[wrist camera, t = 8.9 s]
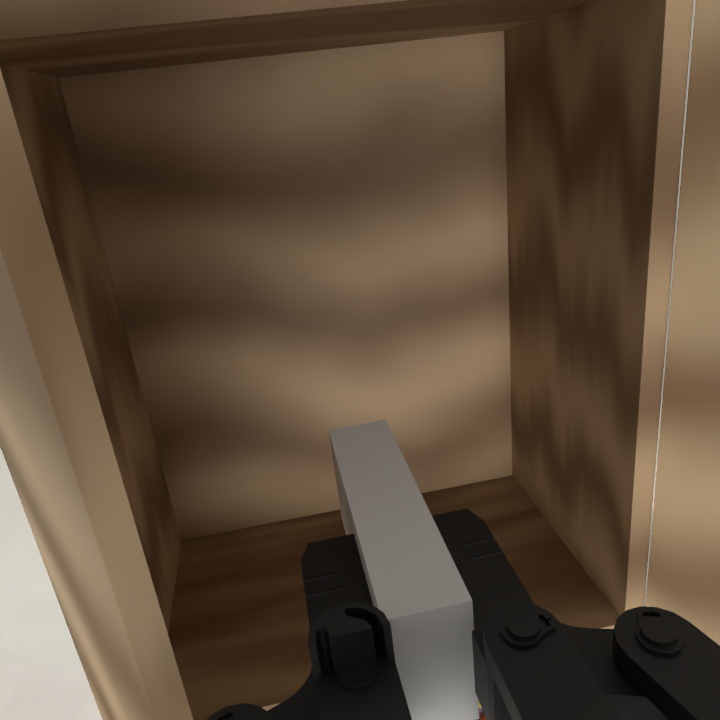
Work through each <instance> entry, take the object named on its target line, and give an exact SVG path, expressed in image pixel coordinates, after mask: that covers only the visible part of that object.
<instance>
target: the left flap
mask: <svg viewBox="0 0 720 720" xmlns="http://www.w3.org/2000/svg"><path fill="white" fill-rule="evenodd" d="M0 446H1V449H2V452H3V454H4V457H5V460H6V463H7V465H8V468H9V471H10V473H11V476H12V479H13V481H14V484H15V487H16V489H17V492H18V495H19V497H20V500H21V503H22V505H23V508H24V511H25V513H26V516H27V519H28V521H29V524H30V527H31V529H32V532H33V535H34V537H35V540H36V543H37V545H38V548H39V551H40V553H41V556H42V559H43V561H44V564H45V567H46V569H47V572H48V575H49V577H50V580H51V583H52V586H53V588H54V591H55V594H56V596H57V599H58V602H59V604H60V607H61V610H62V612H63V615H64V618H65V620H66V623H67V626H68V628H69V631H70V634H71V636H72V639H73V642H74V644H75V647H76V650H77V652H78V655H79V658H80V660H81V663H82V666H83V668H84V671H85V674H86V676H87V679H88V682H89V684H90V687H91V690H92V692H93V695H94V698H95V700H96V703H97V706H98V708H99V711H100V714H101V717H102V719H103V720H193V717H192V714H191V710H190V707H189V703H188V700H187V697H186V693H185V690H184V687H183V683H182V680H181V676H180V673H179V670H178V666H177V663H176V660H175V656H174V653H173V649H172V646H171V643H170V639H169V636H168V633H167V629H166V626H165V622H164V619H163V616H162V612H161V609H160V606H159V602H158V599H157V595H156V592H155V589H154V585H153V582H152V579H151V575H150V572H149V568H148V565H147V562H146V558H145V555H144V552H143V548H142V545H141V541H140V538H139V535H138V531H137V528H136V525H135V521H134V518H133V514H132V511H131V508H130V504H129V501H128V498H127V494H126V491H125V487H124V484H123V481H122V477H121V474H120V471H119V467H118V464H117V461H116V457H115V454H114V450H113V447H112V444H111V440H110V437H109V434H108V430H107V427H106V423H105V420H104V417H103V413H102V410H101V407H100V403H99V400H98V396H97V393H96V390H95V386H94V383H93V380H92V376H91V373H90V369H89V366H88V363H87V359H86V356H85V353H84V349H83V346H82V342H81V339H80V336H79V332H78V329H77V326H76V322H75V319H74V315H73V312H72V309H71V305H70V302H69V299H68V295H67V292H66V288H65V285H64V282H63V278H62V275H61V272H60V268H59V265H58V261H57V258H56V255H55V251H54V248H53V245H52V241H51V238H50V234H49V231H48V228H47V224H46V221H45V218H44V214H43V211H42V207H41V204H40V201H39V197H38V194H37V191H36V187H35V184H34V180H33V177H32V174H31V170H30V167H29V164H28V160H27V157H26V153H25V150H24V147H23V143H22V140H21V137H20V133H19V130H18V126H17V123H16V120H15V116H14V113H13V110H12V106H11V103H10V99H9V96H8V93H7V89H6V86H5V83H4V79H3V76H2V72H1V69H0Z"/></svg>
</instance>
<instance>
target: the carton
mask: <svg viewBox="0 0 720 720" xmlns="http://www.w3.org/2000/svg"><path fill="white" fill-rule="evenodd" d="M692 12H693V0H0V69H1V72H2V76H3V79H4V83H5V86H6V89H7V93H8V96H9V99H10V103H11V106H12V110H13V113H14V116H15V120H16V123H17V126H18V130H19V133H20V137H21V140H22V143H23V147H24V150H25V153H26V157H27V160H28V164H29V167H30V170H31V174H32V177H33V180H34V184H35V187H36V191H37V194H38V197H39V201H40V204H41V207H42V211H43V214H44V218H45V221H46V224H47V228H48V231H49V234H50V238H51V241H52V245H53V248H54V251H55V255H56V258H57V261H58V265H59V268H60V272H61V275H62V278H63V282H64V285H65V288H66V292H67V295H68V299H69V302H70V305H71V309H72V312H73V315H74V319H75V322H76V326H77V329H78V332H79V336H80V339H81V342H82V346H83V349H84V353H85V356H86V359H87V363H88V366H89V369H90V373H91V376H92V380H93V383H94V386H95V390H96V393H97V396H98V400H99V403H100V407H101V410H102V413H103V417H104V420H105V423H106V427H107V430H108V434H109V437H110V440H111V444H112V447H113V450H114V454H115V457H116V461H117V464H118V467H119V471H120V474H121V477H122V481H123V484H124V487H125V491H126V494H127V498H128V501H129V504H130V508H131V511H132V514H133V518H134V521H135V525H136V528H137V531H138V535H139V538H140V541H141V545H142V548H143V552H144V555H145V558H146V562H147V565H148V568H149V572H150V575H151V579H152V582H153V585H154V589H155V592H156V595H157V599H158V602H159V606H160V609H161V612H162V616H163V619H164V622H165V626H166V629H167V633H168V636H169V639H170V643H171V646H172V649H173V653H174V656H175V660H176V663H177V666H178V670H179V673H180V676H181V680H182V683H183V687H184V690H185V693H186V697H187V700H188V703H189V707H190V710H191V714H192V717H193V720H207V719H208V718H209V717H210V716H211V715H212V714H214V713H216V712H217V711H219V710H221V709H223V708H225V707H227V706H231V705H236V704H241V703H247V704H253V705H259V706H260V707H262V708H263V709H264V710H266V711H268V710H270V709H271V708H273V707H275V706H277V705H278V704H280V703H282V702H284V701H285V700H287V699H288V698H289V697H291V696H292V695H294V694H295V693H296V692H297V691H298V690H299V689H300V688H301V687H302V686H303V685H304V683H305V681H306V680H307V678H308V676H309V675H310V672H311V669H312V662H311V656H310V651H309V646H308V637H309V629H310V627H309V620H308V612H307V605H306V597H305V590H304V582H303V575H302V568H301V559H302V557H303V554H304V552H305V549H306V547H307V545H308V543H311V542H316V541H321V540H325V539H330V538H335V537H340V536H345V535H346V533H345V529H344V525H343V521H342V516H341V510H340V503H339V497H338V490H337V483H336V477H335V470H334V464H333V457H332V450H331V444H330V437H329V431H328V430H332V429H337V428H343V427H348V426H353V425H359V424H364V423H369V422H375V421H380V420H385V419H386V421H387V423H388V426H389V428H390V430H391V432H392V434H393V436H394V438H395V440H396V442H397V444H398V446H399V449H400V451H401V453H402V455H403V457H404V459H405V461H406V463H407V465H408V467H409V469H410V471H411V474H412V476H413V478H414V480H415V482H416V484H417V486H418V488H419V490H420V492H421V494H422V496H423V499H424V501H425V503H426V505H427V507H428V509H429V511H430V513H431V515H432V516H433V515H438V514H442V513H447V512H452V511H457V510H462V509H466V508H467V509H468V510H470V511H471V512H472V513H474V514H475V515H477V516H478V517H480V518H481V519H482V520H484V521H485V523H486V525H487V526H488V528H489V530H490V531H491V533H492V535H493V536H494V540H496V541H497V543H498V544H499V546H500V548H501V549H502V553H504V554H505V556H506V558H507V559H508V561H509V563H510V564H511V566H512V568H513V569H514V571H515V573H516V574H517V576H518V578H519V579H520V581H521V583H522V584H523V586H524V588H525V589H526V591H527V593H528V594H529V596H530V597H531V599H532V601H533V602H534V603H535V605H538V606H540V607H541V608H543V609H545V610H547V611H549V612H551V613H552V614H553V616H554V617H555V618H556V619H557V620H558V621H559V622H560V623H563V624H566V625H569V626H574V627H582V628H599V629H614V626H615V623H616V620H617V618H618V617H619V616H620V615H621V614H622V613H624V612H625V611H626V610H629V609H633V608H636V607H640V606H642V607H644V599H645V586H646V574H647V562H648V550H649V537H650V525H651V513H652V501H653V489H654V477H655V464H656V452H657V440H658V428H659V415H660V403H661V391H662V379H663V367H664V354H665V342H666V330H667V318H668V306H669V293H670V281H671V269H672V257H673V244H674V232H675V220H676V208H677V196H678V183H679V171H680V159H681V147H682V134H683V122H684V110H685V98H686V86H687V73H688V61H689V49H690V37H691V25H692Z"/></svg>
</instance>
